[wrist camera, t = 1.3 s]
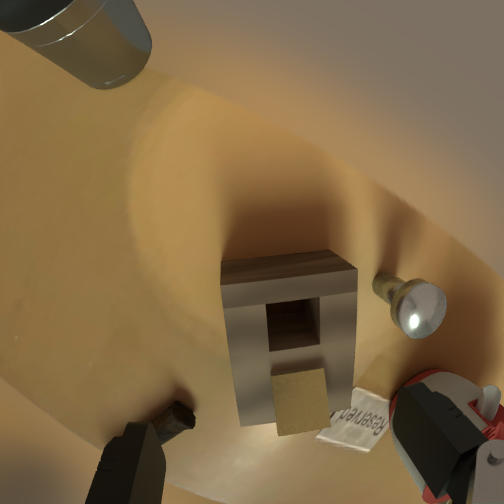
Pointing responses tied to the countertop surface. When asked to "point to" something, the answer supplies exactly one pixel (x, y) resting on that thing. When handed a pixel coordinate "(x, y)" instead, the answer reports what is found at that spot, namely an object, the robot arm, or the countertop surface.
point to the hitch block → (289, 326)
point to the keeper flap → (300, 401)
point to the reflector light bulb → (412, 303)
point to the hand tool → (173, 422)
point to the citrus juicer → (468, 401)
